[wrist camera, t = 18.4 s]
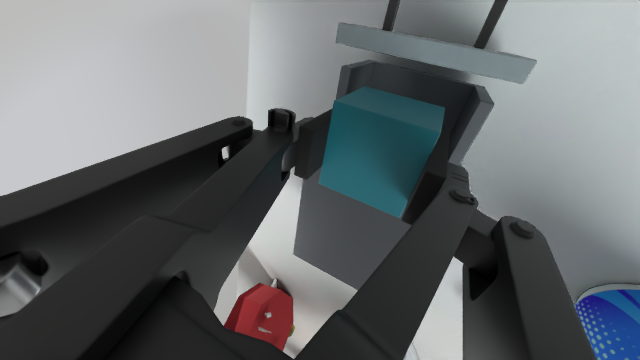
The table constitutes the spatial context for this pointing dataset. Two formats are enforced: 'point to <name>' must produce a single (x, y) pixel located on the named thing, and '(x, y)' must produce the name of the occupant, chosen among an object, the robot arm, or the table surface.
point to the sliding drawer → (455, 96)
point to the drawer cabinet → (343, 233)
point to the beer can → (612, 320)
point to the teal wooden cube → (379, 147)
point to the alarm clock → (263, 314)
